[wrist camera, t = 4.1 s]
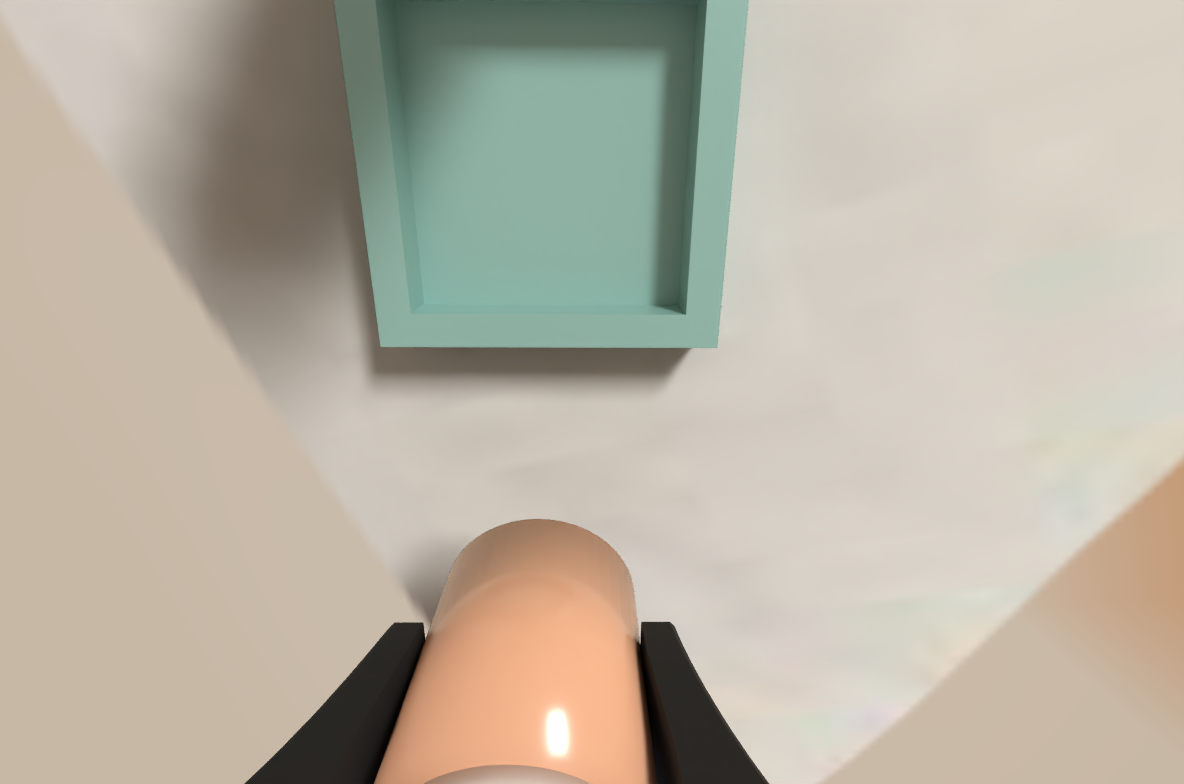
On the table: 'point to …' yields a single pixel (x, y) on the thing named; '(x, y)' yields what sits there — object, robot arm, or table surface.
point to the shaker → (528, 668)
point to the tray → (544, 167)
